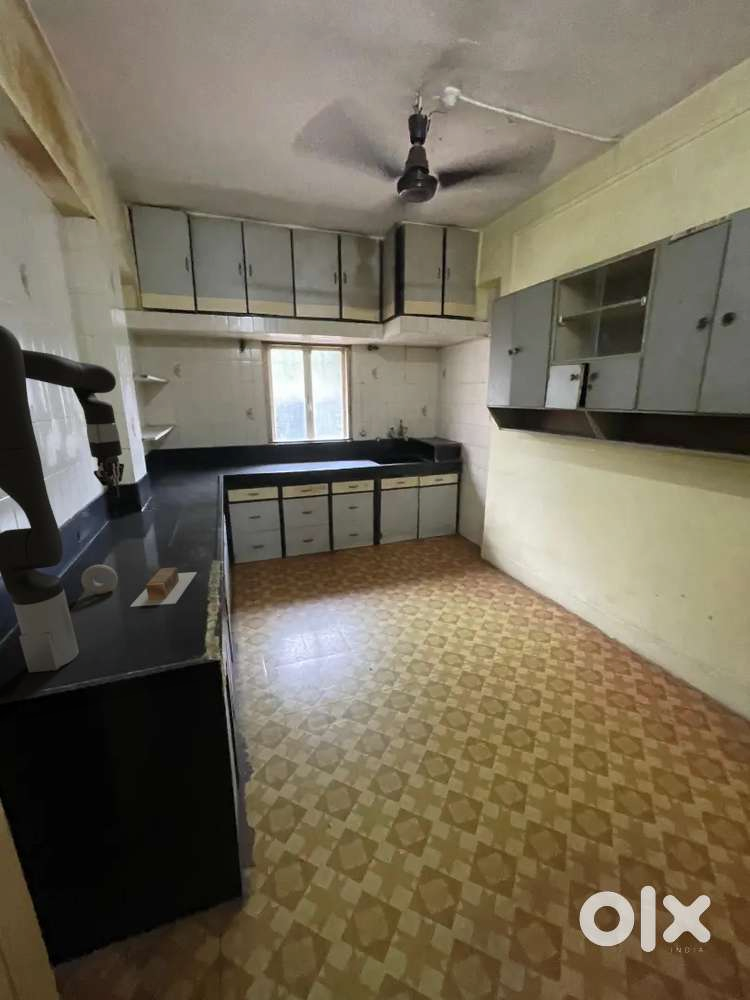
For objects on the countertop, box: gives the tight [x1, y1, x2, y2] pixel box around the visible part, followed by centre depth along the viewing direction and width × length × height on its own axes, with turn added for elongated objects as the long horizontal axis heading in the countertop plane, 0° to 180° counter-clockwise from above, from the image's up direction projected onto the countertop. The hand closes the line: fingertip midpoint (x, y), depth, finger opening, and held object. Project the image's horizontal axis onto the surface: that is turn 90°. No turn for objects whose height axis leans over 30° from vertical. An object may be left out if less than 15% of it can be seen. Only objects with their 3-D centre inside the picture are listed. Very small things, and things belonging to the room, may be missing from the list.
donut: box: [80, 564, 119, 595], centre depth 128 cm, size 10×3×10 cm, turn 105°
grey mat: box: [129, 571, 198, 608], centre depth 132 cm, size 22×13×1 cm, turn 7°
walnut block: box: [145, 567, 179, 600], centre depth 130 cm, size 5×5×12 cm
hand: (115, 497), depth 121 cm, fingers closed
